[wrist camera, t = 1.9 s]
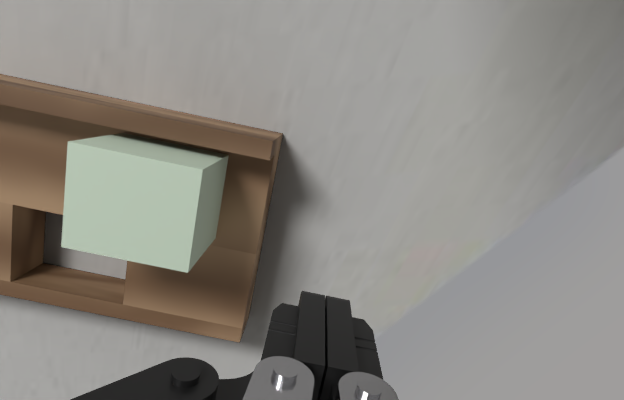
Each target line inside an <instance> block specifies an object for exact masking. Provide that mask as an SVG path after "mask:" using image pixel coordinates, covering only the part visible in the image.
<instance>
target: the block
mask: <svg viewBox="0 0 624 400" xmlns="http://www.w3.org/2000/svg"><path fill="white" fill-rule="evenodd" d="M228 157H229V155H226V154H221V153H217V152H212V151H207V150H202V149H197V148H193V147H188V146H183V145H178V144H174V143H169V142H164V141H159V140H154V139H150V138H145V137H140V136H135V135H131V134H126V133H119V134H112V135H106V136H99V137H93V138H87V139H80V140H74V141H68V145H67V161H66V177H65V193H64V210H63V226H62V242H61V247H63V248H68V249H73V250H78V251H83V252H88V253H93V254H98V255H103V256H107V257H112V258H117V259H122V260H127V261H132V262H137V263H142V264H147V265H152V266H157V267H162V268H166V269H171V270H176V271H181V272H186V273H188V272H189V271H190V270H191V268H192V267H193V266H194V265H195V263H196V262H197V261H198V260H199V258H200V257H201V256H202V255H203V253H204V252H205V251H206V250H207V248H208V247H209V246H210V245H211V243H212V242H213V241H214V240H215V238H216V233H217V226H218V220H219V214H220V207H221V201H222V195H223V188H224V182H225V176H226V169H227V163H228Z"/></svg>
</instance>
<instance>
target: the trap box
mask: <svg viewBox="0 0 624 400" xmlns="http://www.w3.org/2000/svg"><path fill="white" fill-rule="evenodd" d="M119 133H126V134H131V135H135V136H140V137H145V138H150V139H154V140H159V141H164V142H169V143H174V144H178V145H183V146H188V147H193V148H197V149H202V150H207V151H212V152H217V153H221V154H226V155H229V157H228V163H227V169H226V176H225V182H224V188H223V195H222V201H221V207H220V214H219V220H218V226H217V233H216V238H215V240H214V241H213V242H212V243H211V245H210V246H209V247H208V248H207V250H206V251H205V252H204V253H203V255H202V256H201V257H200V258H199V260H198V261H197V262H196V263H195V265H194V266H193V267H192V268H191V270H190V271H189V272H188V273H186V272H181V271H176V270H171V269H166V268H162V267H157V266H152V265H147V264H142V263H137V262H132V261H127V270H126V280H124V279H120V278H115V277H110V276H105V275H100V274H95V273H90V272H85V271H80V270H75V269H70V268H65V267H60V266H55V265H50V264H45V263H43V254H44V234H45V215H46V212H51V213H56V214H61V215H63V210H64V193H65V177H66V161H67V145H68V141H74V140H80V139H87V138H93V137H99V136H106V135H112V134H119ZM282 136H283V134H282V133H278V132H273V131H268V130H263V129H259V128H254V127H249V126H244V125H240V124H235V123H230V122H225V121H221V120H216V119H211V118H207V117H202V116H197V115H192V114H188V113H183V112H178V111H173V110H169V109H164V108H159V107H154V106H150V105H145V104H140V103H135V102H131V101H126V100H121V99H116V98H112V97H107V96H102V95H97V94H93V93H88V92H83V91H78V90H74V89H69V88H64V87H60V86H55V85H50V84H45V83H41V82H36V81H31V80H26V79H22V78H17V77H12V76H7V75H3V74H0V295H5V296H10V297H15V298H20V299H25V300H30V301H35V302H40V303H45V304H50V305H55V306H60V307H65V308H70V309H75V310H80V311H85V312H90V313H95V314H100V315H105V316H110V317H115V318H120V319H125V320H130V321H135V322H140V323H145V324H150V325H155V326H160V327H165V328H170V329H175V330H180V331H185V332H190V333H195V334H200V335H205V336H210V337H215V338H220V339H225V340H230V341H235V342H240V340H241V337H242V334H243V332H244V329H245V326H246V323H247V320H248V317H249V312H250V306H251V301H252V296H253V290H254V285H255V280H256V274H257V269H258V264H259V258H260V253H261V248H262V242H263V237H264V232H265V226H266V221H267V216H268V210H269V205H270V200H271V194H272V189H273V184H274V178H275V173H276V168H277V162H278V157H279V152H280V147H281V141H282Z"/></svg>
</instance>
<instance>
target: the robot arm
mask: <svg viewBox="0 0 624 400" xmlns="http://www.w3.org/2000/svg"><path fill="white" fill-rule="evenodd" d="M71 400H399V399H398V397H397V394H396V392H395V391H394V389H393V388H392V387H391V386H390V385H389V384H388V383H387V382H385V381H384V380H383V376H382V372H381V367H380V362H379V358H378V353H377V348H376V344H375V339H374V334H373V330H372V329H371V328H370V326H369V325H368V324H367V323H366V322H365V320H363V319H358V318H353V317H352V314H351V307H350V301H349V300H345V299H340V298H335V297H330V296H326V298H325V295H320V294H315V293H310V292H305V291H302V292H301V296H300V300H299V305H298V306H294V305H289V304H284V303H282V304H280V305H279V306H278V307H277V308H275V309H274V310H273V313H272V317H271V322H270V325H269V330H268V334H267V338H266V342H265V346H264V350H263V354H262V358H261V361H260V362H259V363H258V364H257V365H256V367H255V369H254V371H253V372H252V373H251V374H249V375H247V376H244V377H241V378H236V379H219V376H218V373H217V372H216V370H215V369H214V368H213V367H212V366H211V365H210V364H208V363H206V362H205V361H202V360H199V359H195V358H176V359H172V360H169V361H166V362H163V363H161V364H158V365H156V366H153V367H151V368H148V369H146V370H143V371H141V372H138V373H136V374H133V375H131V376H128V377H126V378H123V379H121V380H118V381H116V382H113V383H111V384H108V385H106V386H103V387H101V388H98V389H96V390H93V391H91V392H88V393H86V394H83V395H81V396H78V397H76V398H73V399H71Z"/></svg>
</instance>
